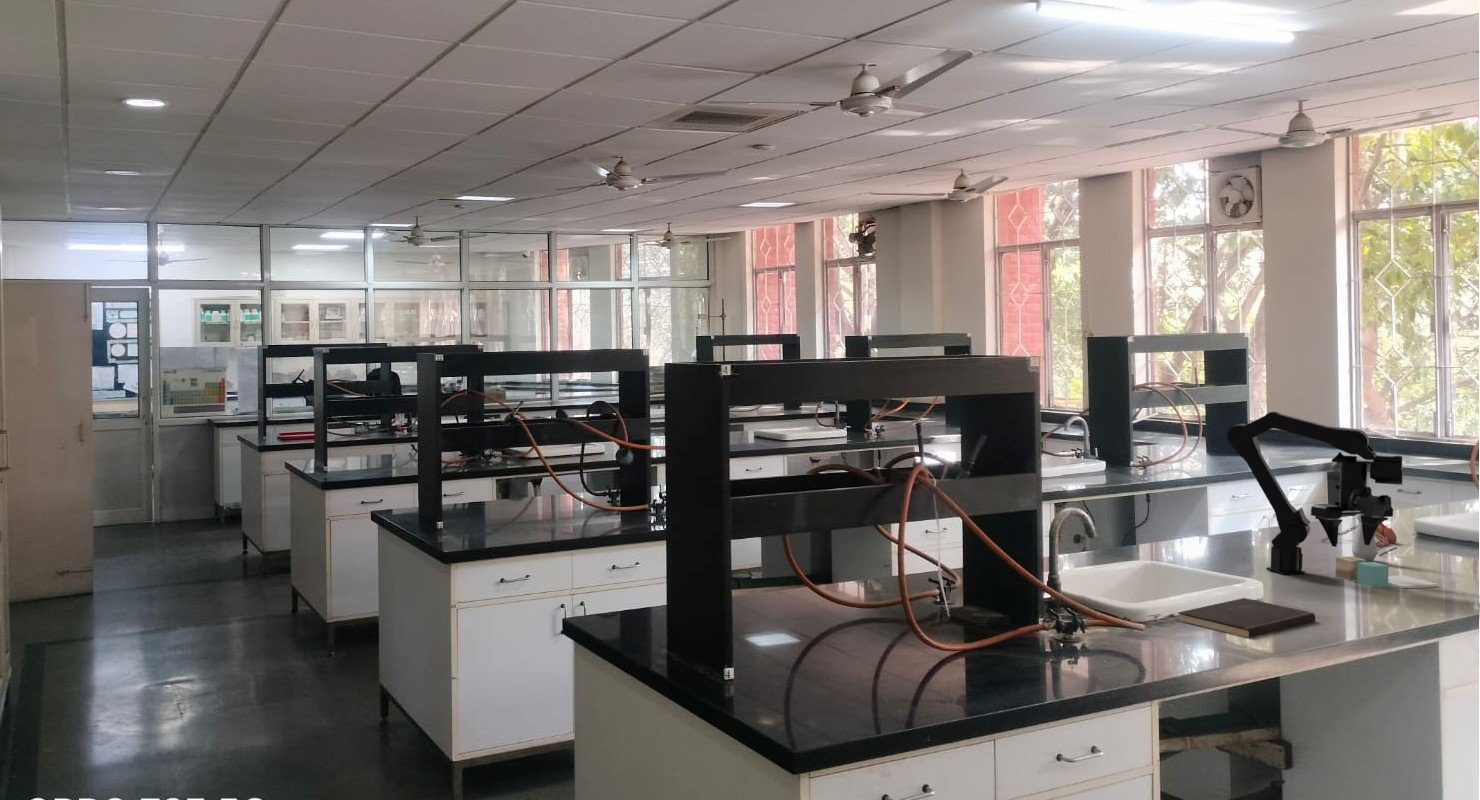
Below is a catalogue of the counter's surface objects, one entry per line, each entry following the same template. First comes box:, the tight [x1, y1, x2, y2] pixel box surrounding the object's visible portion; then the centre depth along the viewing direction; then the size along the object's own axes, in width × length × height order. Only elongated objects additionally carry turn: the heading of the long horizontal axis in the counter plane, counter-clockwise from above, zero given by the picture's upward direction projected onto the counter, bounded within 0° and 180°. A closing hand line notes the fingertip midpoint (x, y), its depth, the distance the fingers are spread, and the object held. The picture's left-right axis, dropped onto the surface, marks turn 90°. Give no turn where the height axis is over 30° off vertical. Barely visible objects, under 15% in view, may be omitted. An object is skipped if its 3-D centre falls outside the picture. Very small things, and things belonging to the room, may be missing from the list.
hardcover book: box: [1177, 597, 1316, 639], centre depth 230 cm, size 16×23×2 cm
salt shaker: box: [1351, 514, 1378, 562], centre depth 291 cm, size 6×6×13 cm
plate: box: [1388, 574, 1439, 589], centre depth 265 cm, size 10×10×1 cm
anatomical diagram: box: [1320, 522, 1398, 557], centre depth 310 cm, size 21×9×25 cm
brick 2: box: [1356, 561, 1390, 588], centre depth 263 cm, size 4×4×5 cm
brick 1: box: [1334, 556, 1366, 582], centre depth 270 cm, size 4×4×5 cm
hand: (1350, 545), depth 270 cm, fingers open, 9 cm apart
